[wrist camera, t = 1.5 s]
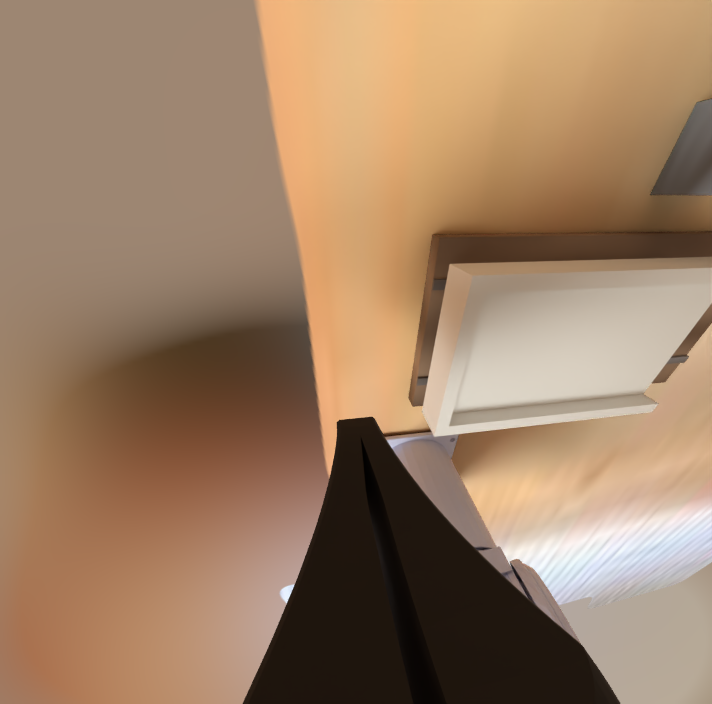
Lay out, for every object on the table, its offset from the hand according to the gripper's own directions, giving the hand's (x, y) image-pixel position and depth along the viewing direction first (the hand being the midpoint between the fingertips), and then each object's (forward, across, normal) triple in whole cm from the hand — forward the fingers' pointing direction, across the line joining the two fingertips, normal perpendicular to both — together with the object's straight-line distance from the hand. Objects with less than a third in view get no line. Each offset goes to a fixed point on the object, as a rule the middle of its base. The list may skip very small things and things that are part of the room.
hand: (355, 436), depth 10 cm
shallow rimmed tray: (+7, -14, 0) cm, 15 cm away
